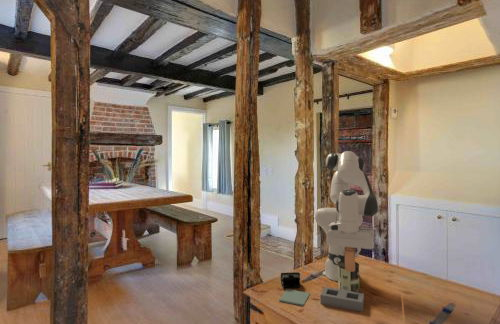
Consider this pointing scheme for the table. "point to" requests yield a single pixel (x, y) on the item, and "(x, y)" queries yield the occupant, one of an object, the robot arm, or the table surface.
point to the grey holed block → (342, 298)
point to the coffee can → (348, 277)
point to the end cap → (290, 280)
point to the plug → (349, 259)
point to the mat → (294, 297)
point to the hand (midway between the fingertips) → (349, 256)
